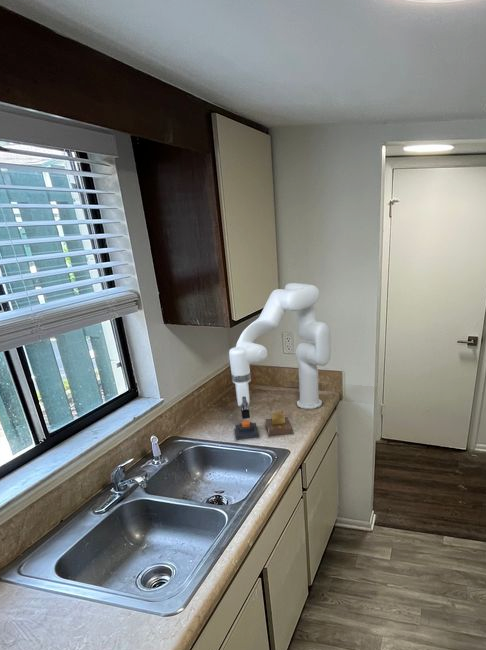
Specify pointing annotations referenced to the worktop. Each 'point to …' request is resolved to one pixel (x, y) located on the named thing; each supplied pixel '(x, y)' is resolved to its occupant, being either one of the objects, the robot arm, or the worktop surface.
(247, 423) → the bell button
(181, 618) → the worktop surface
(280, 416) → the lock knob
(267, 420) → the plate
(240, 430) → the doorbell
